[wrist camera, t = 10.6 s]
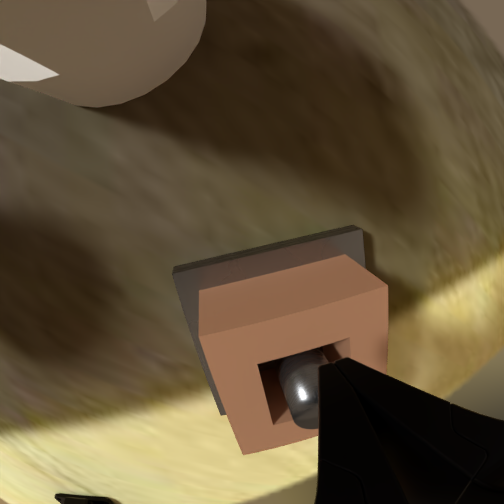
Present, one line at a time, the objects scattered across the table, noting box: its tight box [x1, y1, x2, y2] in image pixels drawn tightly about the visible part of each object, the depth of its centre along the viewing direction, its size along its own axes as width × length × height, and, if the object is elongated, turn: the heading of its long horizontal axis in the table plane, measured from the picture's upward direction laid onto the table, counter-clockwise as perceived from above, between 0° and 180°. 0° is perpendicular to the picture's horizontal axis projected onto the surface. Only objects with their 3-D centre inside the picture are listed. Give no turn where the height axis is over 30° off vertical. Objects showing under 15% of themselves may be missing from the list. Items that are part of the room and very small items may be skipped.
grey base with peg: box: [172, 225, 366, 429], centre depth 13 cm, size 9×9×6 cm
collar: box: [199, 254, 388, 455], centre depth 14 cm, size 7×7×4 cm
